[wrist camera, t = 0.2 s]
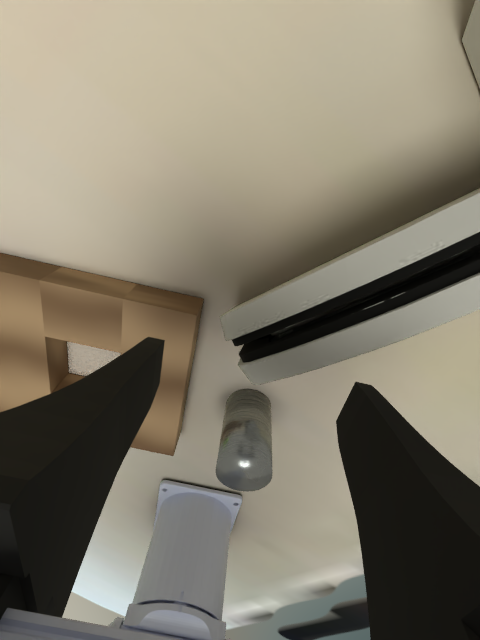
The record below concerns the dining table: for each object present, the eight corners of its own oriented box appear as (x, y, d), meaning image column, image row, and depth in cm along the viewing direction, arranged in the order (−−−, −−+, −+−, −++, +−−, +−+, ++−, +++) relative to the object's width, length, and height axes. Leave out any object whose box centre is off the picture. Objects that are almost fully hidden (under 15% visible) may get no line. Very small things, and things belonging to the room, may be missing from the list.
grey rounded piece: (267, 362, 23) (231, 433, 14) (238, 304, 23) (182, 336, 13) (524, 256, 18) (744, 253, 9) (491, 181, 18) (683, 94, 9)
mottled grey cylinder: (264, 426, 26) (264, 495, 21) (222, 417, 26) (211, 485, 21) (276, 394, 25) (278, 461, 19) (231, 384, 25) (221, 449, 19)
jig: (180, 432, 27) (171, 460, 25) (-30, 388, 27) (-60, 412, 24) (203, 298, 21) (195, 318, 19) (-69, 237, 21) (-115, 249, 18)
